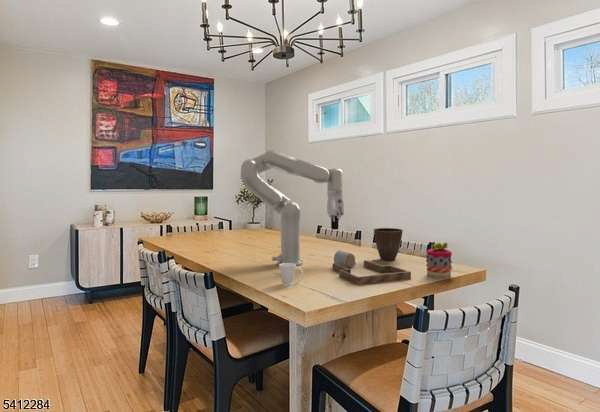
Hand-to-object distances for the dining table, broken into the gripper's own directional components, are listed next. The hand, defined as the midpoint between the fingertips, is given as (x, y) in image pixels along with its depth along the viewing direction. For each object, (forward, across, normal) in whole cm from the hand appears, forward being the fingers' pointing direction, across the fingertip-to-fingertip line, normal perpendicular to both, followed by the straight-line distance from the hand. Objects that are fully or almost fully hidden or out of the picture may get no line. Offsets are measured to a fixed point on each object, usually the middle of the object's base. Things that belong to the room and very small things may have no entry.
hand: (334, 229), depth 201 cm
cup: (+17, -33, +37) cm, 53 cm away
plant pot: (+17, -5, -29) cm, 34 cm away
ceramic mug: (+17, -11, 0) cm, 20 cm away
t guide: (+17, -29, 0) cm, 34 cm away
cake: (+17, -44, -28) cm, 55 cm away
